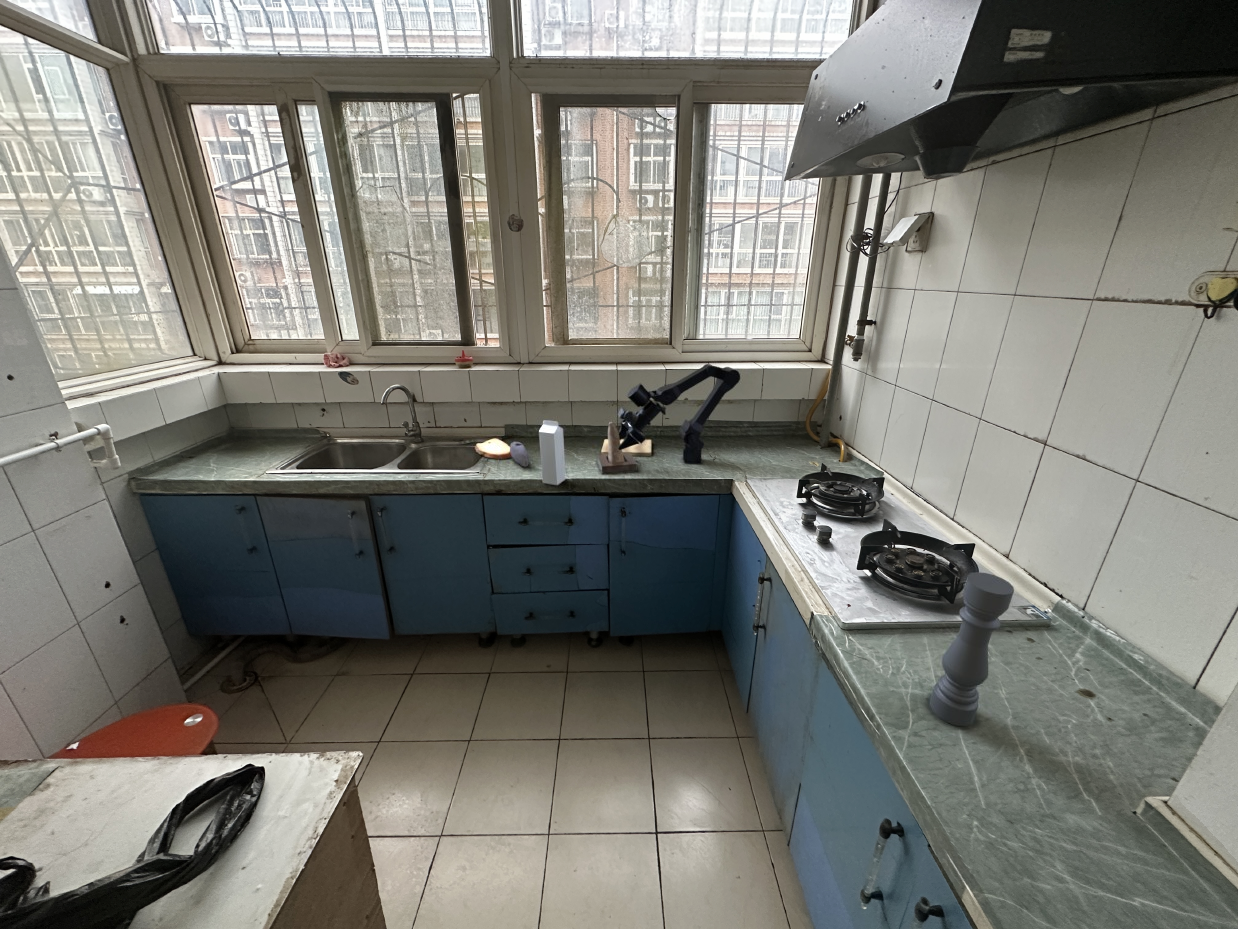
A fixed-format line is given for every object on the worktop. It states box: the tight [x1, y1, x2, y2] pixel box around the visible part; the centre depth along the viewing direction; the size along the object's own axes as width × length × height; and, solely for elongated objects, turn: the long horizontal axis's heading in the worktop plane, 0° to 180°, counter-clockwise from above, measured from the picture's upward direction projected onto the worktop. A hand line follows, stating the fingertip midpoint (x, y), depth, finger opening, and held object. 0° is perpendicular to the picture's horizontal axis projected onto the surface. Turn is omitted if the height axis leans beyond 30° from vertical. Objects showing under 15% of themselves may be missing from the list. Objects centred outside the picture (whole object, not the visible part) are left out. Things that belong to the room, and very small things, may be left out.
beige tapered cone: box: [607, 421, 625, 463], centre depth 185 cm, size 6×18×6 cm
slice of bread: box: [474, 437, 513, 460], centre depth 204 cm, size 18×18×4 cm
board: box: [600, 438, 652, 457], centre depth 206 cm, size 20×16×2 cm
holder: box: [596, 452, 638, 475], centre depth 187 cm, size 13×13×3 cm
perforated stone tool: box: [509, 441, 530, 468], centre depth 191 cm, size 15×5×7 cm, turn 26°
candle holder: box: [929, 571, 1015, 727], centre depth 78 cm, size 6×6×25 cm
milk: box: [538, 419, 566, 486], centre depth 171 cm, size 6×6×22 cm
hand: (616, 445), depth 185 cm, fingers open, 9 cm apart
